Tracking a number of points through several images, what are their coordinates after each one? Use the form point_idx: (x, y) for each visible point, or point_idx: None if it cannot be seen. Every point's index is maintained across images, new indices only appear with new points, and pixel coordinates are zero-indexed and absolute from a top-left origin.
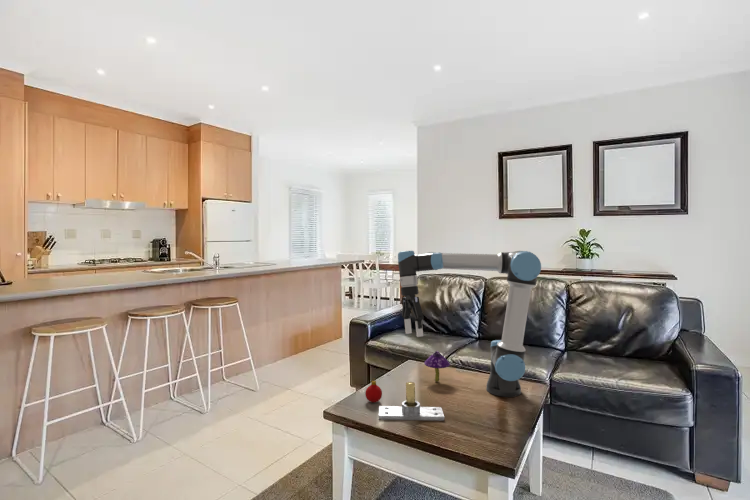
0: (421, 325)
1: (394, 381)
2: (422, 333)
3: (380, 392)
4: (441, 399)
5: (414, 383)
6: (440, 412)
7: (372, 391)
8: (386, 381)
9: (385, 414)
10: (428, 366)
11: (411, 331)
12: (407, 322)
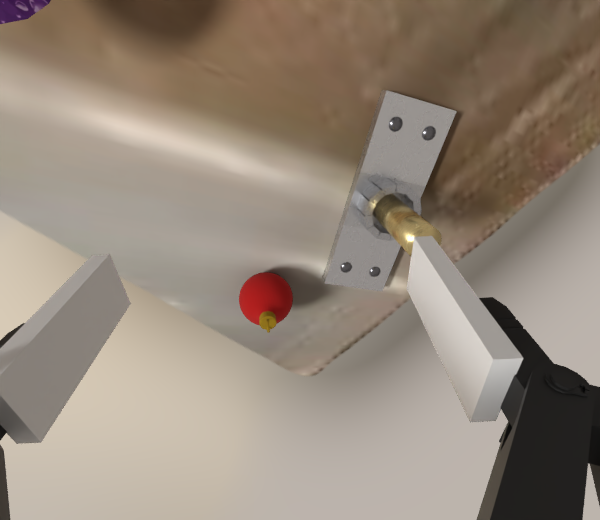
0: (517, 326)
1: (57, 185)
2: (440, 255)
3: (283, 286)
4: (283, 40)
5: (432, 229)
6: (424, 111)
7: (288, 312)
8: (61, 217)
9: (381, 275)
10: (36, 10)
11: (101, 266)
12: (53, 376)
